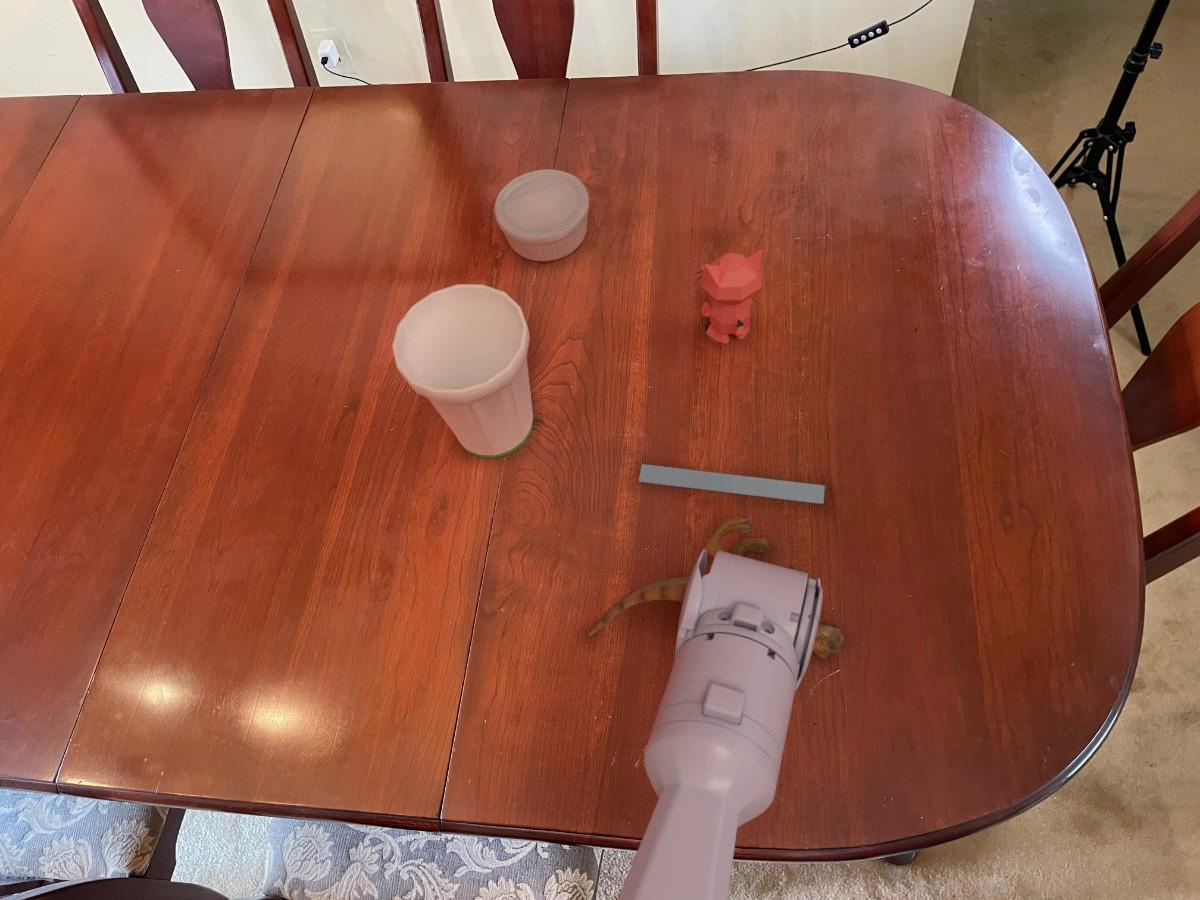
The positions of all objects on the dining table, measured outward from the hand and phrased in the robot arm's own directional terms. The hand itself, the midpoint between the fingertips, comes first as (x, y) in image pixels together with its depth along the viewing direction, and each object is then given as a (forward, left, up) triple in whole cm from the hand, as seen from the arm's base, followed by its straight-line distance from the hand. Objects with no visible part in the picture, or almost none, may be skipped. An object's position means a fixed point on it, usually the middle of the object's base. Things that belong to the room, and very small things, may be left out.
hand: (734, 715), depth 62 cm
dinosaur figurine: (+12, -3, -10) cm, 16 cm away
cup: (+37, +15, -10) cm, 41 cm away
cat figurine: (+42, -12, -10) cm, 44 cm away
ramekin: (+62, +5, -10) cm, 63 cm away
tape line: (+24, -7, -10) cm, 27 cm away
